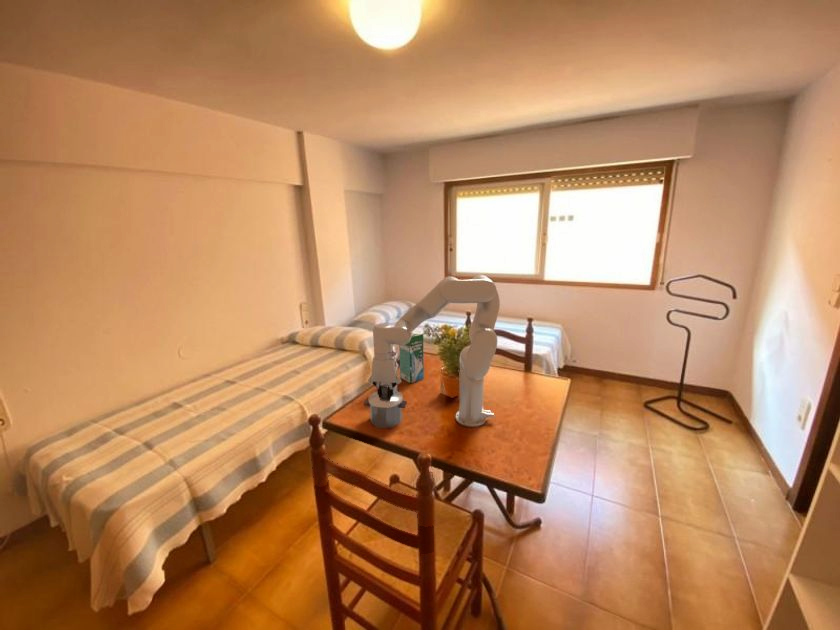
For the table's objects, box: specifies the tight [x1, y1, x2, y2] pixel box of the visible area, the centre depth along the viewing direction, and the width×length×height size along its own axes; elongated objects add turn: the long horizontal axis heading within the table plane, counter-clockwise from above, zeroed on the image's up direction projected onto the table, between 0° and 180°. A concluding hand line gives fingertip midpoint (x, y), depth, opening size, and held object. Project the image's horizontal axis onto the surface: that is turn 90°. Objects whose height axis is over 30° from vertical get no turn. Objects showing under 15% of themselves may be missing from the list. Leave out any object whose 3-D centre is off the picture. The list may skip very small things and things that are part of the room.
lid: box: [367, 384, 404, 408], centre depth 138 cm, size 14×14×7 cm
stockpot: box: [363, 398, 408, 429], centre depth 140 cm, size 17×13×9 cm
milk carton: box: [398, 332, 425, 384], centre depth 177 cm, size 9×9×25 cm
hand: (385, 396), depth 139 cm, fingers closed on lid, 3 cm apart
